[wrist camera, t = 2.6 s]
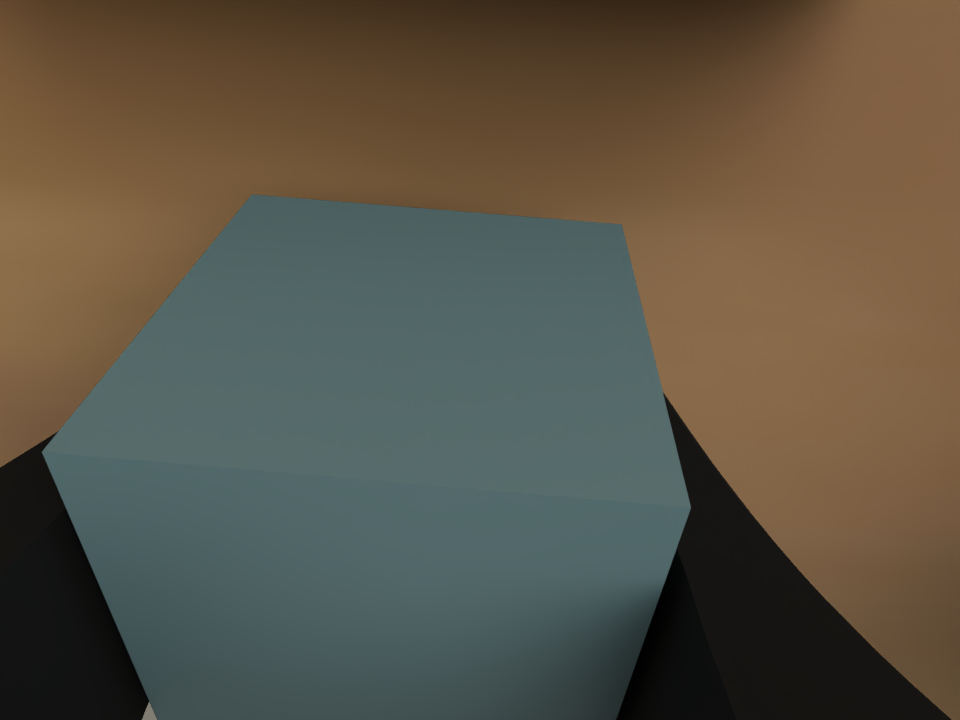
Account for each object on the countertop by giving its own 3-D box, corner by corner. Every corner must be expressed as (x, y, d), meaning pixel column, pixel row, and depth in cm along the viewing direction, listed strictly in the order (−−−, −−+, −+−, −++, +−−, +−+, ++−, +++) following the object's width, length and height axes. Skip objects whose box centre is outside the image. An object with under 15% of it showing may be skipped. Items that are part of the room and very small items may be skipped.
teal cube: (621, 224, 9) (691, 507, 5) (570, 484, 12) (590, 793, 8) (252, 195, 9) (41, 452, 5) (289, 460, 12) (172, 755, 8)
